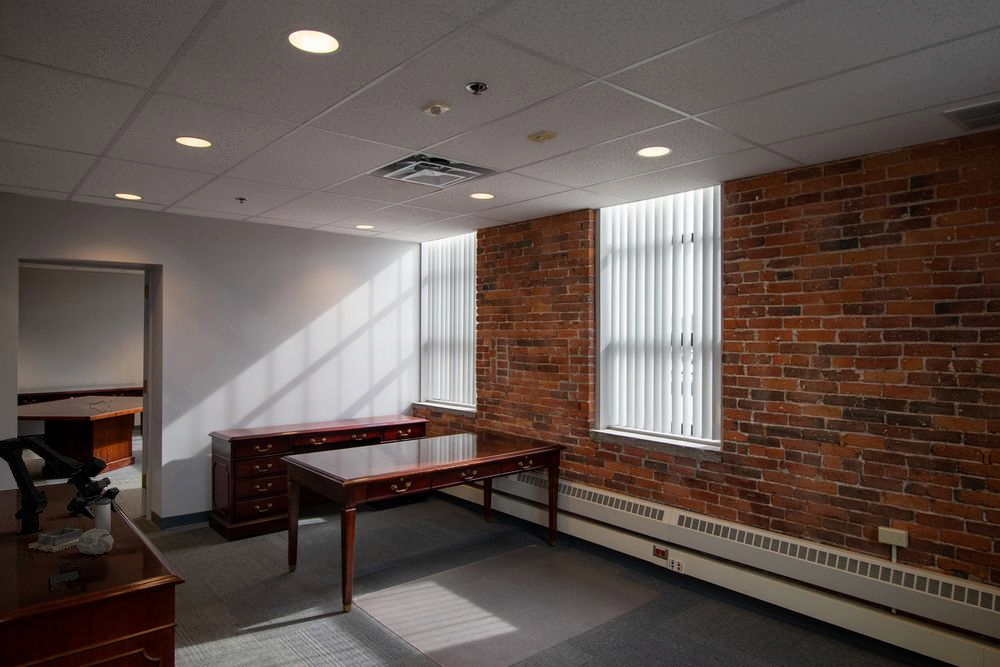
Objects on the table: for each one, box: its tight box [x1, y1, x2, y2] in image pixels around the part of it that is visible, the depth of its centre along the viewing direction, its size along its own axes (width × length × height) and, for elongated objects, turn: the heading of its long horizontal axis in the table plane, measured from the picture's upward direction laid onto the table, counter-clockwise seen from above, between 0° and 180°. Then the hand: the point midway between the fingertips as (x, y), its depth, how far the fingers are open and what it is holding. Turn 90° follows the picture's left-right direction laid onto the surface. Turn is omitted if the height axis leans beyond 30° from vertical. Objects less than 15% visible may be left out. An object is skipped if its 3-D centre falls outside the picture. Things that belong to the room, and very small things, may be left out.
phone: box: [49, 571, 79, 585], centre depth 189 cm, size 7×1×15 cm
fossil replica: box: [76, 527, 115, 556], centre depth 216 cm, size 12×8×10 cm
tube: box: [94, 499, 111, 533], centre depth 239 cm, size 5×5×13 cm
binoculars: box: [66, 492, 95, 517], centre depth 266 cm, size 9×11×10 cm
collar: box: [27, 526, 84, 553], centre depth 225 cm, size 14×14×4 cm
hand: (104, 515), depth 239 cm, fingers open, 9 cm apart
